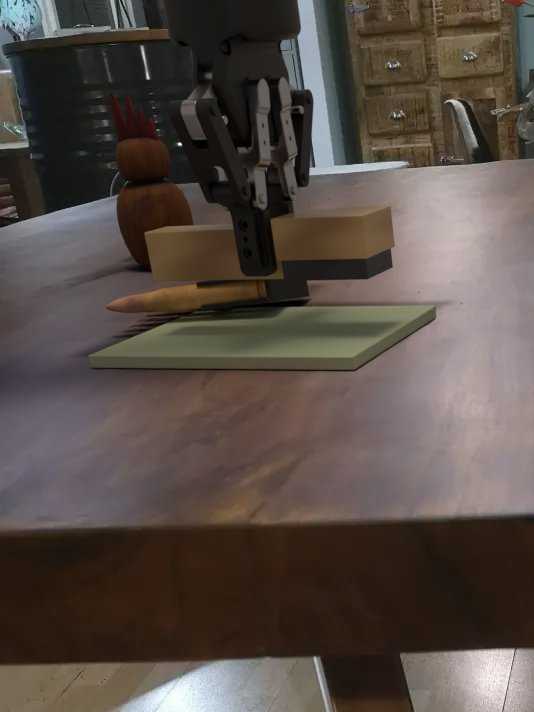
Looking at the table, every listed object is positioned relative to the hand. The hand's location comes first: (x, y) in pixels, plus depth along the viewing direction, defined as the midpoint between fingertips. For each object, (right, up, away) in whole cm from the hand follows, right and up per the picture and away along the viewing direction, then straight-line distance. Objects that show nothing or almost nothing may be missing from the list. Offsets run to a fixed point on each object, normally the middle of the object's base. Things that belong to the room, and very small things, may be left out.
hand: (272, 269), depth 69 cm
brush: (0, 0, 0) cm, 0 cm away
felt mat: (-1, -4, +3) cm, 5 cm away
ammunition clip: (0, +2, +10) cm, 10 cm away
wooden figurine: (-17, +12, +36) cm, 41 cm away
